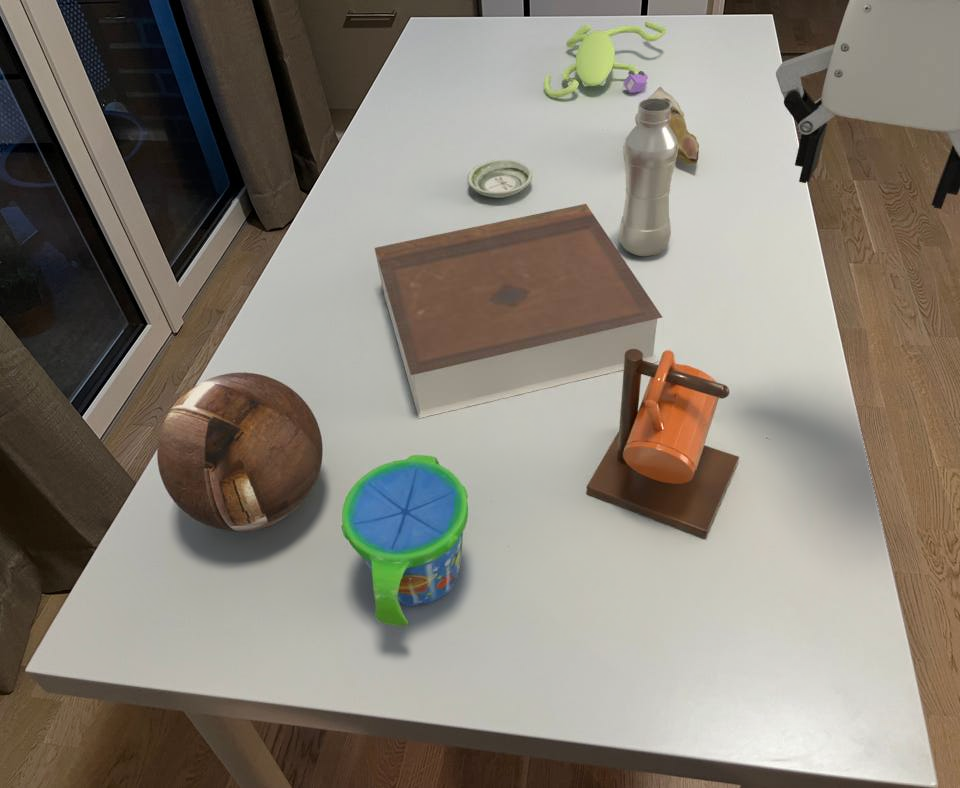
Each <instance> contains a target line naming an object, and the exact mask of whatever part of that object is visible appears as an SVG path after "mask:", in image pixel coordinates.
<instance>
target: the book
mask: <svg viewBox="0 0 960 788" xmlns="http://www.w3.org/2000/svg"><path fill="white" fill-rule="evenodd" d="M374 252H375V257H376V262H377V267H378V271H379V276H380V277H379V278H380V283H381V287H382V292H383V295H384V298H385V301H386V305H387V309H388V312H389V316H390V320H391V323H392V327H393V330H394V335H395V338H396V341H397V344H398V345H397V346H398V348H399V352H400V355H401V359H402V363H403V366H404V370H405V373H406V377H407V382H408V384H409V388H410V391H411V395H412V398H413V402H414V406H415V410H416V413H417V417H418V419H423V418H426V417H430V416H434V415H438V414H443V413H446V412H451V411H456V410H460V409H464V408H469V407H472V406H476V405H481V404H485V403H489V402H493V401H498V400H503V399H506V398H509V397H515V396H518V395H522V394H527V393H532V392H537V391H540V390H544V389H548V388H552V387H557V386H561V385H565V384H570V383H574V382H578V381H582V380H586V379H590V378H595V377H600V376H604V375H608V374H611V373H616V372H619V371H624V357H625V352H626V351H627V350H630V349H637V350H640V351H641V352H642V353H643V361H647V362H650V363H653V364H655V363H658V359H657V358H656V356H655V355H654V351H655V342H656V331H657V325H658V319H661V318H663V315H662V314H661V312H660V311H659V310H658V308H657V306H656V305H655V303H654V302H653V301H652V299H651V298H650V296H649V295H648V293H647V292H646V290H645V289H644V287H643V286H642V284H641V282H640V281H639V280H638V278H637V277H636V275H635V274H634V273H633V271H632V270H631V267H630V266H629V265H628V264H627V262H626V260H625V259H624V258H623V256H622V255H621V254H620V251H619V250H618V249H617V247H616V246H615V244H614V243H613V242H612V240H611V239H610V236H609V235H608V234H607V232H606V231H605V229H604V228H603V226H602V225H601V223H600V222H599V221H598V219H597V217H596V216H595V215H594V213H593V212H592V210H591V209H590V207H589V206H588V205H587V203H582V204H578V205H574V206H569V207H568V206H567V207H564V208H563V207H562V208H559V209H554V210H550V211H549V210H548V211H544V212H540V213H535V214H534V213H533V214H530V215H526V216H525V215H524V216H520V217H516V218H511V219H506V220H500V221H496V222H491V223H486V224H483V225H477V226H473V227H468V228H464V229H463V228H462V229H458V230H452V231H449V232H443V233H439V234H433V235H429V236H424V237H420V238H415V239H410V240H405V241H400V242H395V243H390V244H385V245H381V246H377V247H374Z"/></svg>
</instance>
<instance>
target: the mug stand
mask: <svg viewBox="0 0 960 788" xmlns="http://www.w3.org/2000/svg"><path fill="white" fill-rule="evenodd" d="M658 365H659V364H657V363H650V362H647V361H643V353H642V352H641V351H640V350H637V349H630V350H627V351H626V352H625V357H624V370H622V371H623V373H622V386H621V402H620V412H619V413H620V415H619V425H618V427H619V429H618V431H617V433H616V434H615V437H614V439H613V440H612V442H611V444H610V445H609V446H608V449H607V451H606V453H605V454H604V456H603V457H602V459H601V460H600V463H598V464H599V465H598V466H597V468H596V470H595V471H594V473H593V475H592V477H591V478H590V480H589V482H588V484H587V485H586V494H587V495H589V496H591V497H594V498H596V499H599V500H602V501H605V502H608V503H610V504H613V505H616V506H618V507H620V508H623V509H626V510H629V511H631V512H633V513H636V514H639V515H641V516H644V517H647V518H649V519H651V520H655V521H658V522H661V523H662V524H666V525H668V526H671V527H673V528H676V529H678V530H681V531H683V532H686V533H689V534H692V535H694V536H697V537H699V538H702V539H707V537H708V535H709V532H710V530H711V527H712V525H713V523H714V520H715V518H716V516H717V513H718V511H719V509H720V507H721V505H722V501H723V500H724V497H725V495H726V493H727V490H728V489H729V486H730V484H731V481H732V479H733V476H734V474H735V472H736V470H737V467H738V464H739V461H740V456H738V455H735V454H732V453H729V452H726V451H723V450H720V449H717V448H714V447H711V446H709V445H705V444H704V447H703V450H702V453H701V456H700V460H699V463H698V466H697V469H696V471H695V473H694V476H693V478H692V480H691V481H689V482H686V483H681V484H672V483H665V482H661V481H657V480H654V479H651V478H649V477H646V476H644V475H642V474H640V473H638V472H637V471H635V470H634V469H632V468H631V467H630V466H629V465H628V464H627V463H626V462H625V460H624V458H623V452H624V448H625V445H626V443H627V440H628V437H629V435H630V432H631V429H632V426H633V424H634V421H635V418H636V416H637V413H638V410H639V406H640V405H639V402H640V395H641V394H640V393H641V382H642V375H643V376H646V377H650V378H651V377H652V378H654V376H655V373H656V370H657V368H658ZM665 382H669V383H672V384H675V385H678V386H682V387H685V388H688V389H692V390H695V391H698V392H701V393H705V394H708V395H711V396H714V397H718V398H719V399H726V398H727V397H728V396H729V395H730V388H729V386H727V385H726V384H723V383H719V382H717V381H716V382H714V381H710V380H707V379H704V378H700V377H697V376H694V375H690V374H687V373H683V372H680V371H677V370H673V369H669V372H668V375H667V378H666V380H665Z"/></svg>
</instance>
